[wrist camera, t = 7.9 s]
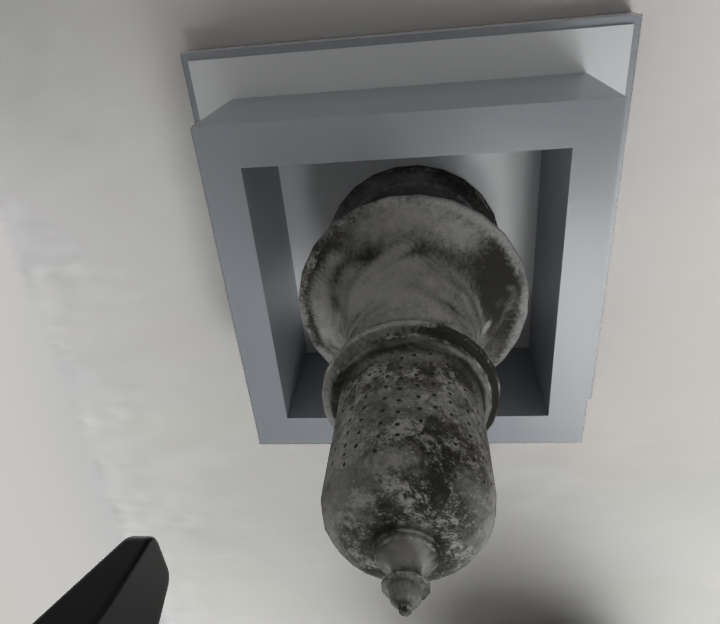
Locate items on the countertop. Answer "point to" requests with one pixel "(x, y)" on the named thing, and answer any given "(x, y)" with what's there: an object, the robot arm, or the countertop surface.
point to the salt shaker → (412, 371)
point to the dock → (427, 148)
